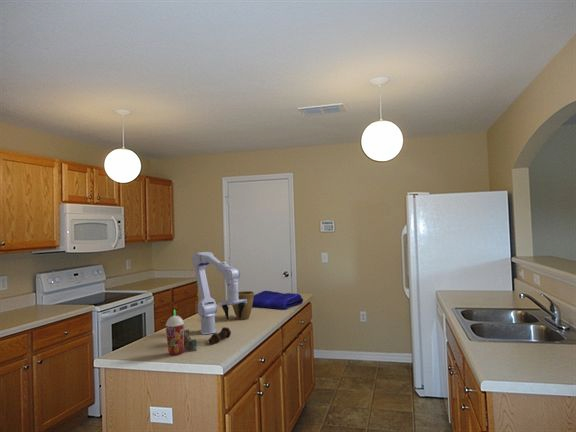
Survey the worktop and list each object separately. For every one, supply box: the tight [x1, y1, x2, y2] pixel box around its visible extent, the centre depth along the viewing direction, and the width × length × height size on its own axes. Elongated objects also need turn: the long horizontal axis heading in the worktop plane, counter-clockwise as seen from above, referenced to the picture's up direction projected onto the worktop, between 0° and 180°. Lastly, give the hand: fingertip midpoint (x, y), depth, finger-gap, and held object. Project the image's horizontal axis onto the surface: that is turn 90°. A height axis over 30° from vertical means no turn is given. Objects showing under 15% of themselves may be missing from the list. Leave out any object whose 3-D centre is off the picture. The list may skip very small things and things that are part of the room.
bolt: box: [208, 326, 232, 345], centre depth 201 cm, size 6×5×15 cm
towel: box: [252, 290, 304, 310], centre depth 289 cm, size 26×36×9 cm
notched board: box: [184, 329, 197, 352], centre depth 196 cm, size 22×3×5 cm, turn 23°
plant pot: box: [231, 290, 255, 321], centre depth 249 cm, size 15×15×16 cm
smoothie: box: [165, 309, 185, 356], centre depth 183 cm, size 8×8×20 cm
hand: (233, 318), depth 205 cm, fingers open, 6 cm apart
